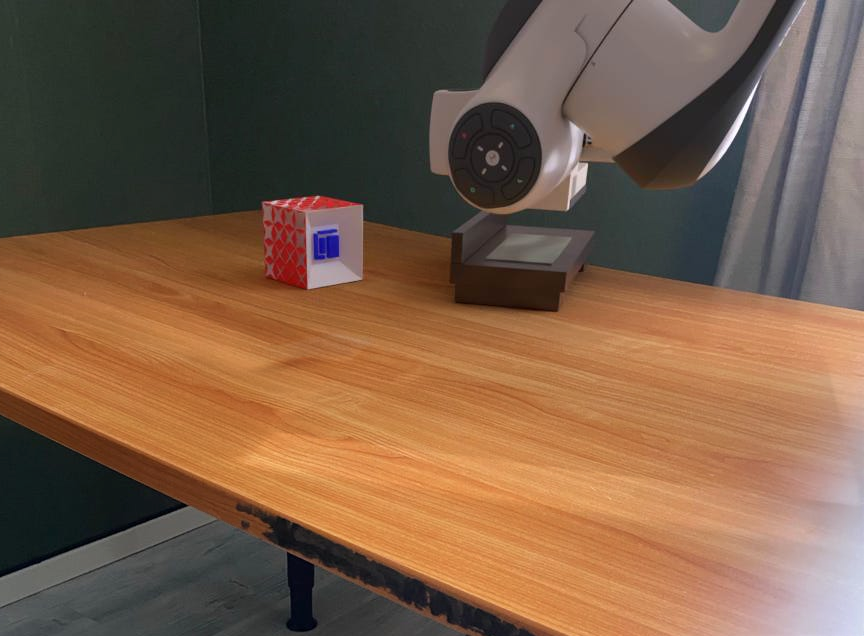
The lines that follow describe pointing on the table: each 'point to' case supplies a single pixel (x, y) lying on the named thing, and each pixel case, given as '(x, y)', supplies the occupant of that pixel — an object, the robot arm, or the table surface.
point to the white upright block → (565, 191)
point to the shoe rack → (515, 262)
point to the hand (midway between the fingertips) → (555, 124)
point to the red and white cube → (313, 241)
